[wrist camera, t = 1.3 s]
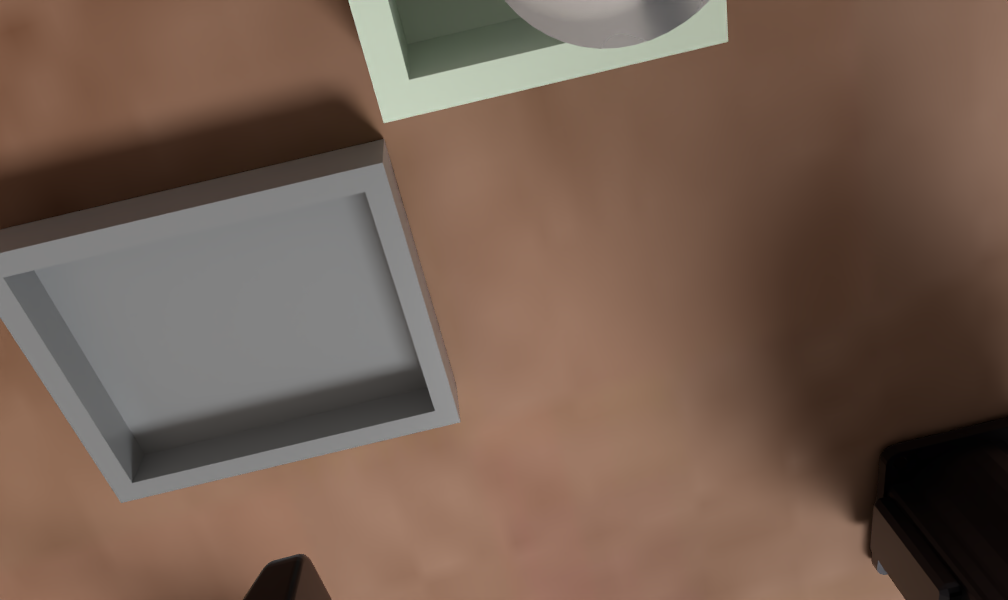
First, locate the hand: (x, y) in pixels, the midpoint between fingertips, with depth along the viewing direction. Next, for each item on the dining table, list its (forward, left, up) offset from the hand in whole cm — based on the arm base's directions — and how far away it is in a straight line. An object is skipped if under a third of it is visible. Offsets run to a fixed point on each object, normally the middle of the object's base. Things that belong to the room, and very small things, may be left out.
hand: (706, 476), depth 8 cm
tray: (+9, +3, -13) cm, 16 cm away
